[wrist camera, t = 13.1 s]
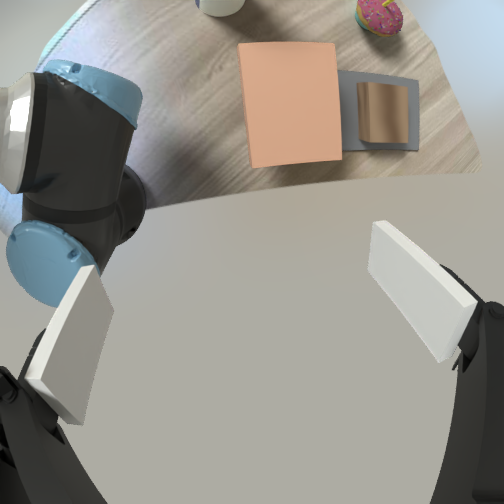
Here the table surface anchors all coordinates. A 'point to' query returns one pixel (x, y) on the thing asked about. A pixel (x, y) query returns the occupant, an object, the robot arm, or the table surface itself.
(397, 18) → the cupcake
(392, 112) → the brown wooden block
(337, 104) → the lid
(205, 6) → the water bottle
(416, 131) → the mat
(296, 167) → the table surface
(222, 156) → the table surface
